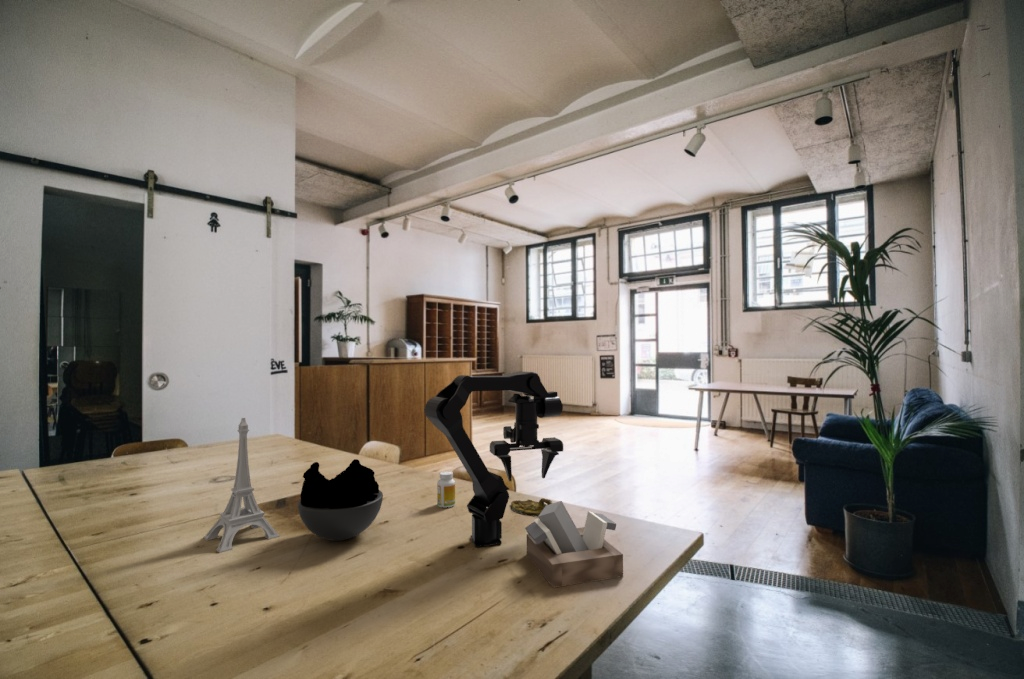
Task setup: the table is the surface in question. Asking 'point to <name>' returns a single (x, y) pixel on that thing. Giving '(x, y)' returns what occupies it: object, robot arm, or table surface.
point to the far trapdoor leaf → (596, 530)
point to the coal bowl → (339, 501)
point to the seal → (530, 506)
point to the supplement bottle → (446, 490)
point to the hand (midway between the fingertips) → (526, 479)
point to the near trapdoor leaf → (542, 535)
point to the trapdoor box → (576, 563)
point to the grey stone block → (562, 528)
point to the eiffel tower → (233, 512)
